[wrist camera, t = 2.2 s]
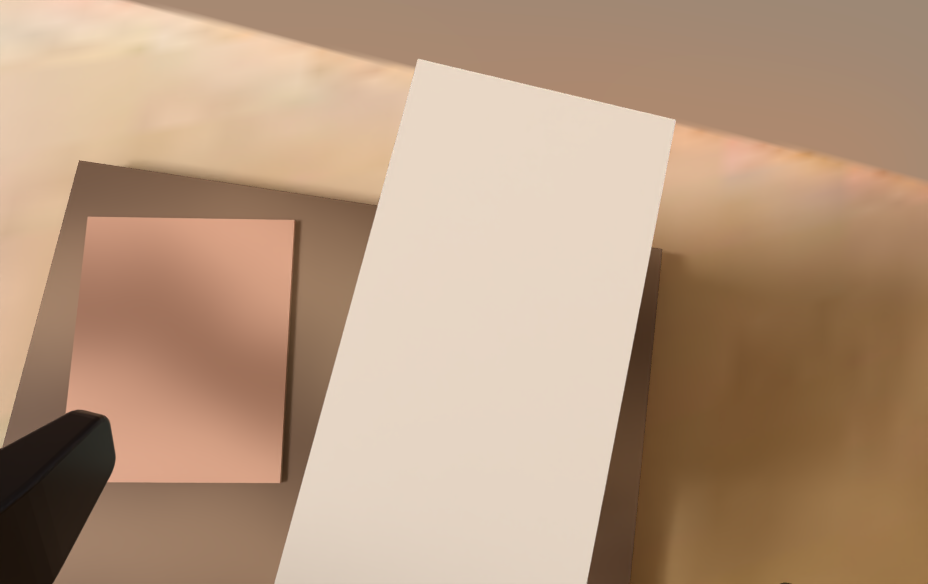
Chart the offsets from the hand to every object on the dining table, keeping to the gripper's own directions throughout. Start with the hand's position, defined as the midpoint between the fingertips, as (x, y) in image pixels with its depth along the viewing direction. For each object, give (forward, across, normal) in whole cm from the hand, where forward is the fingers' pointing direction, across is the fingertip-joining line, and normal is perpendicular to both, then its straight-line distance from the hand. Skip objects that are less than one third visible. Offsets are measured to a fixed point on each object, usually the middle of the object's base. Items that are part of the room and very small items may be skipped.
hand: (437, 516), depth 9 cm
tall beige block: (+8, 0, +5) cm, 9 cm away
